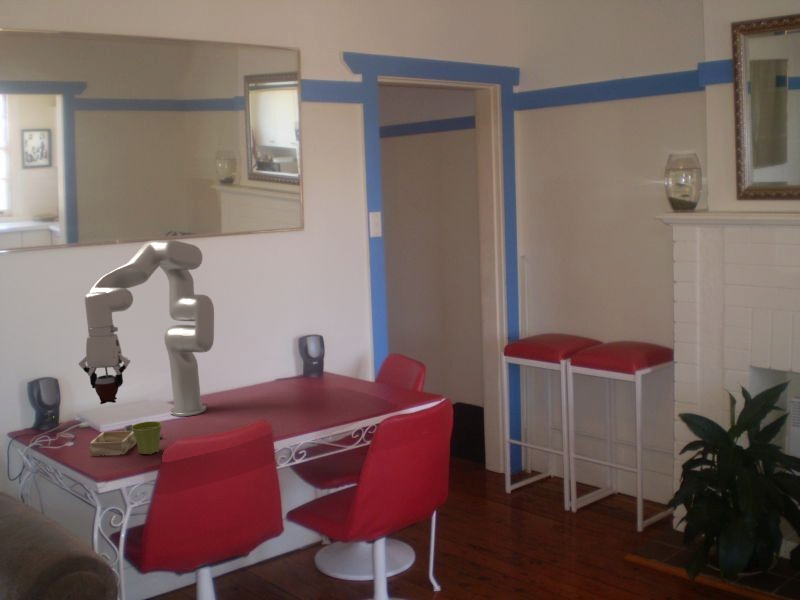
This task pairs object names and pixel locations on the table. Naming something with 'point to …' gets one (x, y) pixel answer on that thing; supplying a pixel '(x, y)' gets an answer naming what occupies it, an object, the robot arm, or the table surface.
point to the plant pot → (147, 436)
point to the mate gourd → (106, 388)
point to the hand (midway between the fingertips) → (107, 386)
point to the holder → (112, 443)
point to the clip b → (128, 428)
